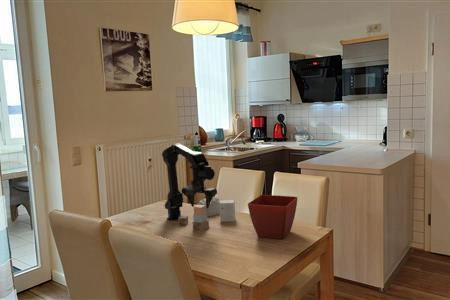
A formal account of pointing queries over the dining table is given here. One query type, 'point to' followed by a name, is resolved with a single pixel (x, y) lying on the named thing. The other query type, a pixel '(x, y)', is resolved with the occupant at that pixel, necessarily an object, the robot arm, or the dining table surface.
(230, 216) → the small box
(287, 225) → the plant pot
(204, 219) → the slate middle block
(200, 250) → the dining table surface
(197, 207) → the terracotta cube
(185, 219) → the walnut block
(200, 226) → the walnut base block
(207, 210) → the lumpy-topped squat cylinder
